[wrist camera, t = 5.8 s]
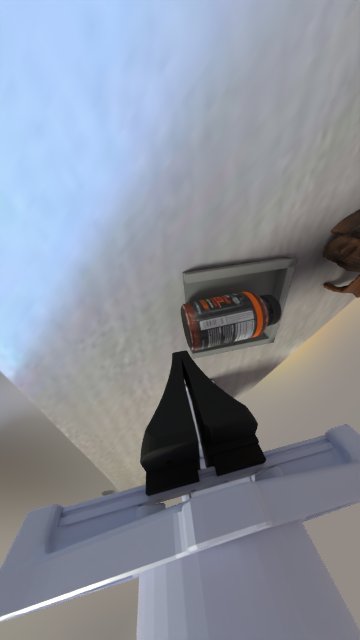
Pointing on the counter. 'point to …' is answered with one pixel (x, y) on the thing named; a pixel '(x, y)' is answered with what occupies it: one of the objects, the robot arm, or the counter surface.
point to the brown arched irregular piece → (346, 252)
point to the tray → (240, 278)
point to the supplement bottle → (228, 318)
